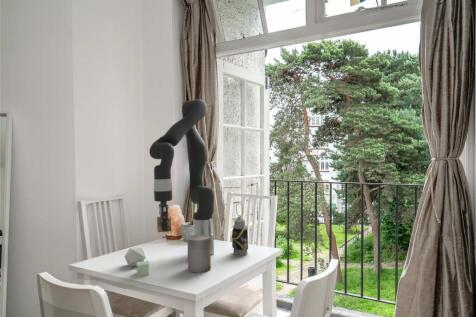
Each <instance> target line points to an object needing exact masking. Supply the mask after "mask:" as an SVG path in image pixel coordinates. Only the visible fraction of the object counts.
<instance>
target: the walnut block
mask: <svg viewBox="0 0 476 317" xmlns="http://www.w3.org/2000/svg"><path fill="white" fill-rule="evenodd" d="M163 218H166V216H165V217H163ZM156 230H157V231H156V232H157V233H167V232H172V218H171V215H168V222H167V231H162V221H161V217H160V216H157V217H156Z"/></svg>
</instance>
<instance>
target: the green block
mask: <svg viewBox="0 0 476 317" xmlns="http://www.w3.org/2000/svg"><path fill="white" fill-rule="evenodd" d="M149 268H150V267H149V261H148V260H144V261H143V262H137V266H136V276H137V277H141V276H142V277H143V276H149V275H150V273H149V272H150V271H149V270H150V269H149Z"/></svg>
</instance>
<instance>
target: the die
mask: <svg viewBox="0 0 476 317" xmlns="http://www.w3.org/2000/svg"><path fill="white" fill-rule="evenodd" d="M146 258H147V257H146V254H145V251H144V249H143V247H142V246H139V247H138V246H137V247H129V249H128V250H127V252H126V254H125V255H124V259H125V261H126V264H127V266H128V267H131V268H133V267H137V262H144V261H146Z"/></svg>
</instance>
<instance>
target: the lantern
mask: <svg viewBox="0 0 476 317" xmlns="http://www.w3.org/2000/svg"><path fill="white" fill-rule="evenodd" d="M238 204H240V206H241V209H242V213H241V215H239V214H238V211H237V209H235V212H236V214H237V216H238V217H237V218H236V219H234V220H233V221H234V224H233V226H232V231H231V242H232V244H231V246H232V249H233V251H232V252H233V255H235V256H246V255H247V254H248V250H249V236H248V235H249V234H248V233H249V232H248V231H249V227H248V225H247V224H246V220H245V219H244V218H243V217H242V216H243V213H244V207H243V205H242V203H241V202H237V203H236V206H235V208H238V207H237V206H238Z"/></svg>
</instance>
